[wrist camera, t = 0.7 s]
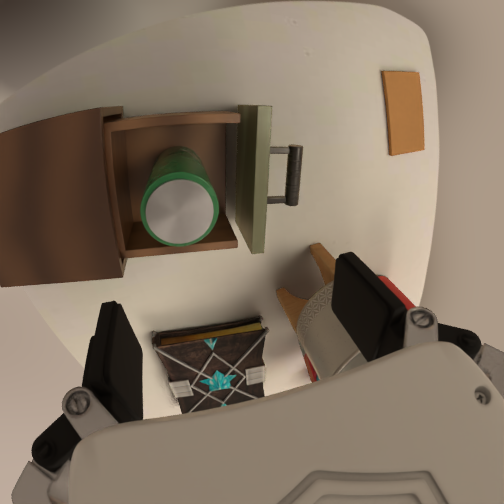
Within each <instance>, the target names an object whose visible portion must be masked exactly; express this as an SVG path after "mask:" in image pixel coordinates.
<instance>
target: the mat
mask: <svg viewBox="0 0 504 504" xmlns="http://www.w3.org/2000/svg"><path fill="white" fill-rule="evenodd" d="M381 72H382V79H383V86H384V94H385V103H386V113H387V124H388V138H389V155H391V156H393V155H399V154H404V153H409V152H415V151H421V150H424V120H423V105H422V94H421V84H420V76H419V73H418V72H401V71H381Z"/></svg>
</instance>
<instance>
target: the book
mask: <svg viewBox="0 0 504 504" xmlns="http://www.w3.org/2000/svg"><path fill="white" fill-rule="evenodd" d="M262 320H263V318H262V316H259V317H258V318H255V319H251V320H246V321H241V322H237V323H232V324H226V325H220V326H214V327H207V328H201V329H194V330H187V331H177V332H166V333H156V332H155V331H153V332H152V336H153V337H152V345H153V349H154V350H155V351H156V352H157V354H158V356H159V358H160V359H161V361H162V363H163V364H164V366H165V368H166V369H167V371H168V379H169V385H170V387H171V389H172V391H173V394H174V396H175V398H178V401H179V405H180V409H181V412H182V414H185V413H191V412H197V411H203V410H208V409H213V408H218V407H223V406H228V405H232V404H237V403H241V402H245V401H249V400H253V399H257V398H261V397H265V396H264V390H263V382H264V381H265V364H264V361H263V359H262V353H263V347H264V341H265V335H266V334H267V333H268V332H269V329H268V327H265V329H262V326H261V321H262Z"/></svg>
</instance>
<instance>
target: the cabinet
mask: <svg viewBox="0 0 504 504" xmlns="http://www.w3.org/2000/svg"><path fill="white" fill-rule="evenodd" d="M120 118H123V106H114V107H100V108H94V109H89V110H84V111H79V112H74V113H69V114H65V115H61V116H56V117H52V118H48V119H45V120H41V121H37V122H34V123H30V124H27V125H24V126H20V127H17V128H14V129H11V130H8V131H5V132H2V133H0V286H1V287H12V286H27V285H40V284H53V283H65V282H77V281H89V280H101V279H112V278H123V275H124V270H125V266H126V262H127V258H124V259H121V257H120V252H119V247H118V242H117V236H116V231H115V225H114V219H113V213H112V206H111V199H110V192H109V184H108V175H107V166H106V155H105V143H104V127H103V123H105V122H109V121H112V120H116V119H120Z"/></svg>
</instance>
